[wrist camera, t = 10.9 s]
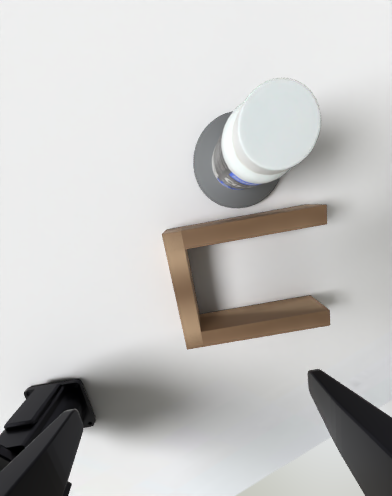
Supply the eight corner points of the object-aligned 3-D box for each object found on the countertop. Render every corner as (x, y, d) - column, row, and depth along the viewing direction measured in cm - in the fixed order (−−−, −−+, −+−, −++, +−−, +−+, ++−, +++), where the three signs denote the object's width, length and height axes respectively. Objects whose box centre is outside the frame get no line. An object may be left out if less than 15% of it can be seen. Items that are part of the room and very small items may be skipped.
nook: (311, 308, 21) (330, 325, 18) (187, 329, 22) (187, 349, 19) (305, 204, 19) (326, 204, 16) (166, 229, 19) (161, 234, 16)
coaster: (284, 199, 19) (287, 199, 18) (201, 214, 19) (201, 215, 18) (277, 105, 17) (280, 102, 16) (186, 123, 17) (185, 120, 17)
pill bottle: (215, 194, 18) (235, 186, 10) (207, 138, 17) (222, 76, 9) (267, 185, 18) (331, 170, 10) (262, 128, 17) (329, 57, 9)
